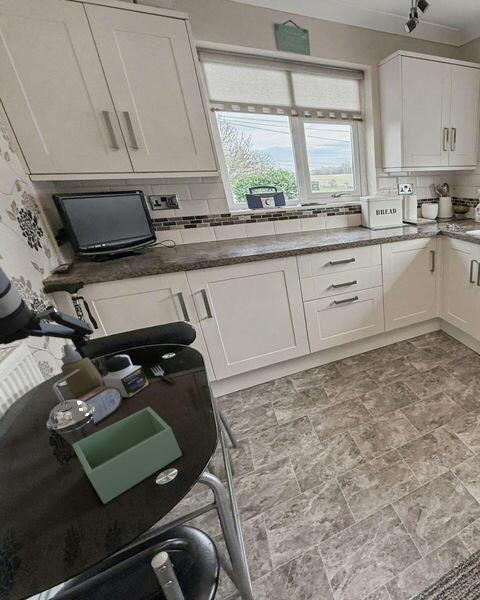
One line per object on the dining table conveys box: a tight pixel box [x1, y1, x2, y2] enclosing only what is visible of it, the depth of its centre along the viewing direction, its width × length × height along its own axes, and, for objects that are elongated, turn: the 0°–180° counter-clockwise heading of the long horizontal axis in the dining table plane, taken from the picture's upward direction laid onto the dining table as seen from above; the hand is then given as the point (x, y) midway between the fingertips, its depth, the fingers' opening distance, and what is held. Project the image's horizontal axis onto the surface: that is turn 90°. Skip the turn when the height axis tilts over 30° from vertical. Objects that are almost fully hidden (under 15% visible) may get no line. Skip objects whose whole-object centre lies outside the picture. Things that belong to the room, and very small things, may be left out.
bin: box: [72, 406, 183, 505], centre depth 74 cm, size 15×15×8 cm
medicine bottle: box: [102, 354, 149, 398], centre depth 103 cm, size 7×7×12 cm
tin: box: [78, 384, 123, 425], centre depth 90 cm, size 15×3×8 cm, turn 168°
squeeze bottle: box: [60, 343, 104, 399], centre depth 102 cm, size 8×8×18 cm
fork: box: [150, 366, 174, 385], centre depth 110 cm, size 3×16×2 cm, turn 53°
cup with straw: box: [45, 369, 98, 452], centre depth 78 cm, size 8×9×20 cm
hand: (40, 368), depth 69 cm, fingers open, 13 cm apart
